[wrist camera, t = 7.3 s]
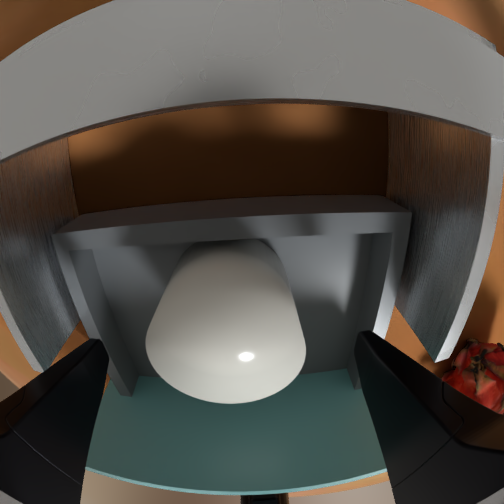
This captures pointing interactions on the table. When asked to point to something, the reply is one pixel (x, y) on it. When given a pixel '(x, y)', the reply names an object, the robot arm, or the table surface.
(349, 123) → the table surface
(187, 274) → the grey rounded tapered piece
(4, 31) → the table surface
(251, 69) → the dock
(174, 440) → the drawer
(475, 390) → the dragon fruit
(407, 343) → the table surface
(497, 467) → the robot arm
